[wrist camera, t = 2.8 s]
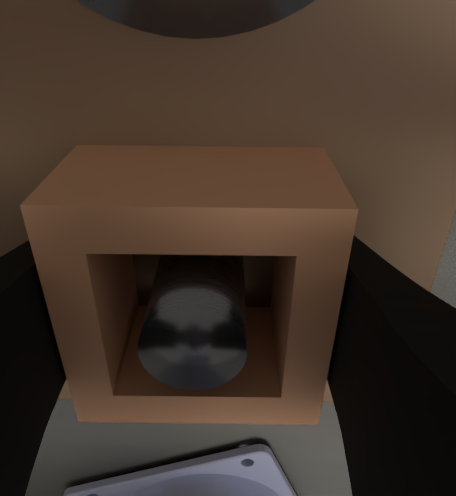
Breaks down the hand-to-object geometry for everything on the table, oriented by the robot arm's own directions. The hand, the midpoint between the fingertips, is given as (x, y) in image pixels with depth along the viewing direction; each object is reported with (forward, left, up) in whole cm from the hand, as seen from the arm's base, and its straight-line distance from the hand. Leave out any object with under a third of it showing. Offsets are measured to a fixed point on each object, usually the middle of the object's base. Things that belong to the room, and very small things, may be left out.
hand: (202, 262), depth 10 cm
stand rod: (0, 0, -1) cm, 1 cm away
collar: (0, 0, 0) cm, 0 cm away
